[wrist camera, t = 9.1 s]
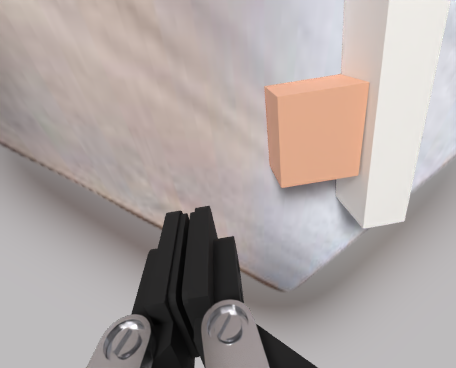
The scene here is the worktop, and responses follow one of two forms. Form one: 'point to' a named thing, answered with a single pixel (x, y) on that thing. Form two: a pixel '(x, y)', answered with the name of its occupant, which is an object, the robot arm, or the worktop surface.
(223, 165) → the worktop surface
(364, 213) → the board
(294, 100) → the peach block
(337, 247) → the worktop surface
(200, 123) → the worktop surface
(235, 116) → the worktop surface
